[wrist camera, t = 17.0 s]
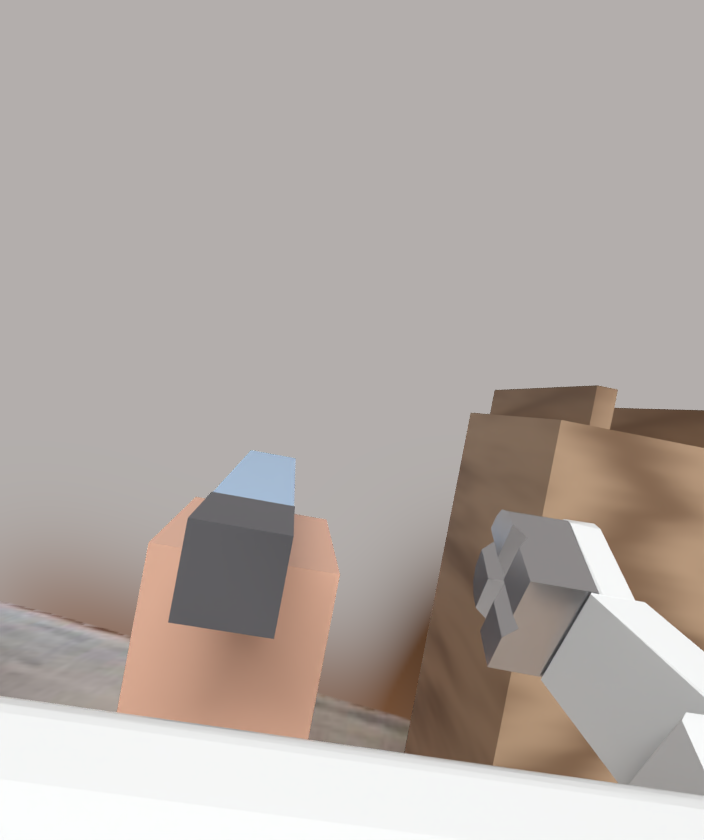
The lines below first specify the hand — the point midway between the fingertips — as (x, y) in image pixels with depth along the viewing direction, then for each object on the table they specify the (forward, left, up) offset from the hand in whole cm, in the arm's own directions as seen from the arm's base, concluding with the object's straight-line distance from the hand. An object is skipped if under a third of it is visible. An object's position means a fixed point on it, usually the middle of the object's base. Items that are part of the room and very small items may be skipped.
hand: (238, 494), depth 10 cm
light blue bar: (-5, +19, -5) cm, 21 cm away
